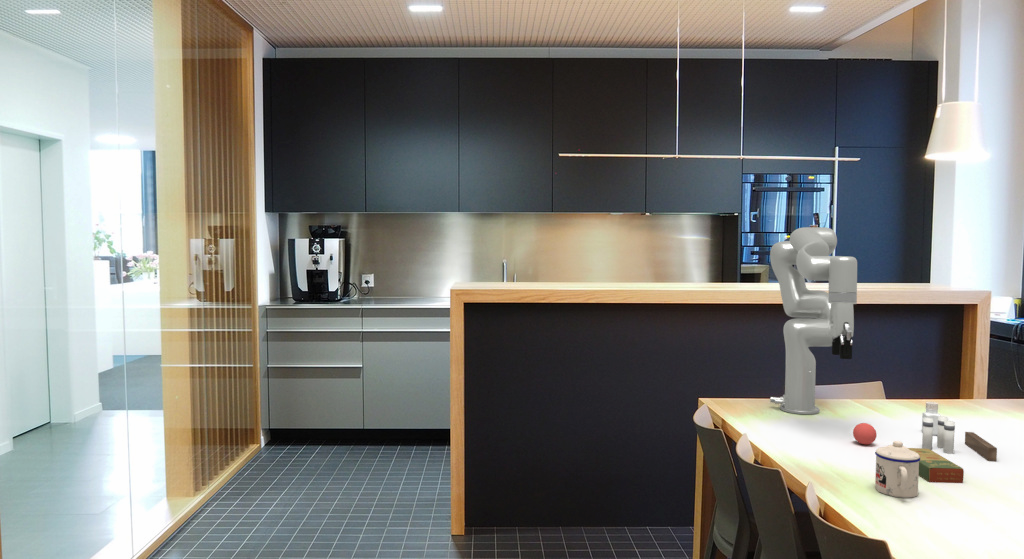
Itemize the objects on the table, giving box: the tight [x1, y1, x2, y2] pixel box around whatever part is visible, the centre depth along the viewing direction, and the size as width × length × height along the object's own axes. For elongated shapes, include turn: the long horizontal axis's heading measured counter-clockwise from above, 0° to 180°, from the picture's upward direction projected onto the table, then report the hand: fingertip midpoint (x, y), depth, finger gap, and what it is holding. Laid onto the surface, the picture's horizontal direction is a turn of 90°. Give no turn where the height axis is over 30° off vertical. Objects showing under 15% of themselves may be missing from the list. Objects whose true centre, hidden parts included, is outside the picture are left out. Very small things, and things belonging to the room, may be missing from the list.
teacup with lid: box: [874, 440, 920, 499], centre depth 159 cm, size 12×9×12 cm
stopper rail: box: [964, 431, 998, 462], centre depth 191 cm, size 2×16×4 cm, turn 166°
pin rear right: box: [942, 420, 956, 455], centre depth 190 cm, size 2×2×8 cm
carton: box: [907, 447, 965, 484], centre depth 174 cm, size 8×16×4 cm, turn 176°
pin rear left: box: [936, 415, 949, 449], centre depth 195 cm, size 2×2×8 cm
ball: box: [852, 422, 878, 446], centre depth 198 cm, size 6×6×6 cm
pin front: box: [921, 417, 934, 451], centre depth 194 cm, size 2×2×8 cm
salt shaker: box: [921, 401, 941, 436], centre depth 209 cm, size 4×4×10 cm
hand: (841, 356), depth 204 cm, fingers open, 9 cm apart
